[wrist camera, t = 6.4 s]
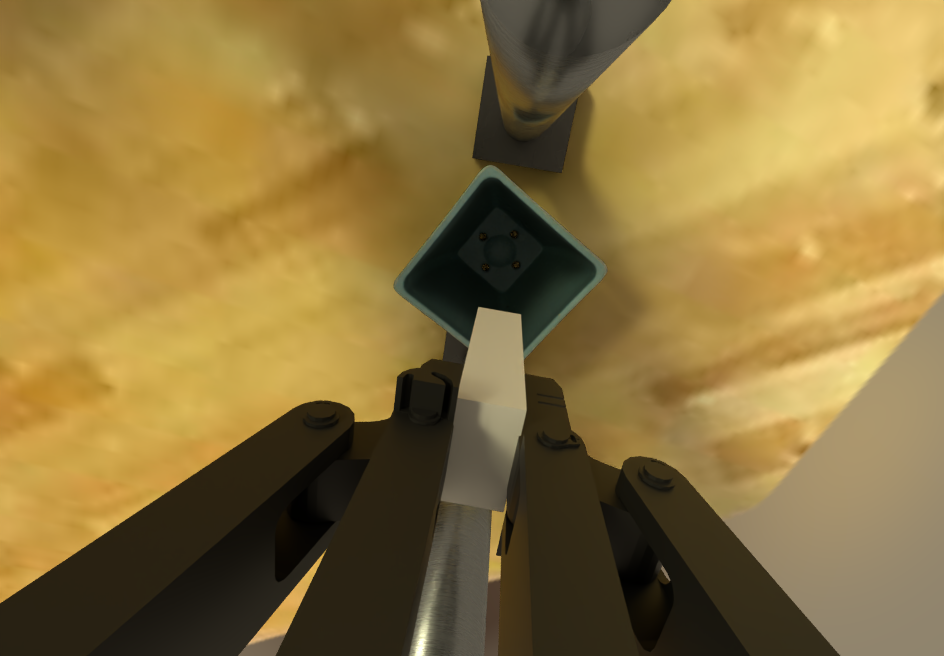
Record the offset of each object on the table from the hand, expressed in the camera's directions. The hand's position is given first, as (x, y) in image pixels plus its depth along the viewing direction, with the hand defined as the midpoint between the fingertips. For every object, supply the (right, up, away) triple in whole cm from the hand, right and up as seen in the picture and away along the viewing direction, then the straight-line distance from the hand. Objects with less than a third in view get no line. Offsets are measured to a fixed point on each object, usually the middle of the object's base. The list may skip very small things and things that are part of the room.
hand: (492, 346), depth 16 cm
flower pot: (+1, +7, +18) cm, 19 cm away
